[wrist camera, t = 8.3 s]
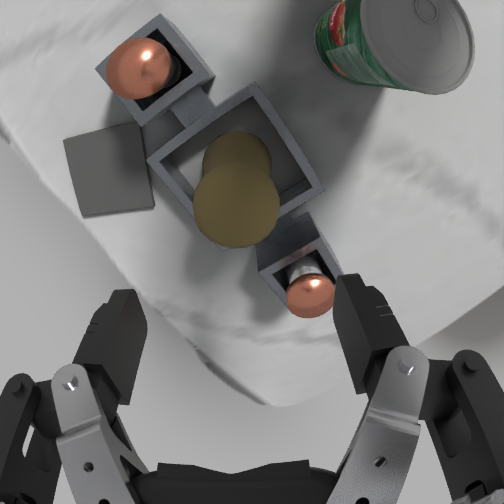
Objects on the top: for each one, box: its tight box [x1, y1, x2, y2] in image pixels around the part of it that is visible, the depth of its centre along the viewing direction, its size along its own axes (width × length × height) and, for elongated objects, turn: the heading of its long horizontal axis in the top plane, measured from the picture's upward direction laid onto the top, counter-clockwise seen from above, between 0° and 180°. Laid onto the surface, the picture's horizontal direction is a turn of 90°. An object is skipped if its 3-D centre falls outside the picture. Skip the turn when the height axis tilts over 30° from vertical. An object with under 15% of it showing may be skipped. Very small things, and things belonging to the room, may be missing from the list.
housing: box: [95, 13, 344, 314], centre depth 24 cm, size 27×11×5 cm, turn 34°
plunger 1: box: [106, 37, 181, 99], centre depth 18 cm, size 4×4×7 cm
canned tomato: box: [314, 0, 475, 95], centre depth 16 cm, size 8×8×11 cm
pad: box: [63, 122, 155, 216], centre depth 25 cm, size 8×8×1 cm
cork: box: [192, 131, 280, 248], centre depth 21 cm, size 6×6×11 cm
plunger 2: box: [286, 251, 335, 318], centre depth 27 cm, size 4×4×7 cm
